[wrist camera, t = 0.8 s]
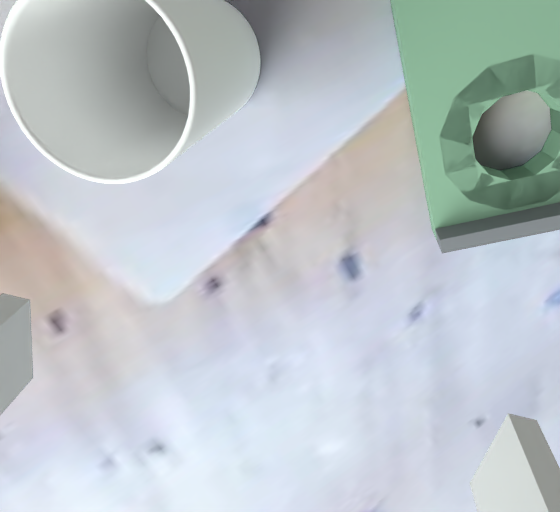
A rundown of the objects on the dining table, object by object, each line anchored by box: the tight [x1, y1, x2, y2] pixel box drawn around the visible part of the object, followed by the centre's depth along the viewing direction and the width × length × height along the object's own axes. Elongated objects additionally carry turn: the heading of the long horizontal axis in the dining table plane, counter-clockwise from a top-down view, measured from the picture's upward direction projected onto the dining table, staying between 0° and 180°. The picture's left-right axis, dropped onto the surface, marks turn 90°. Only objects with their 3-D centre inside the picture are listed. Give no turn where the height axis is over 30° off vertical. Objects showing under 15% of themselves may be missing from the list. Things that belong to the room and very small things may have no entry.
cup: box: [0, 0, 261, 184], centre depth 27 cm, size 8×8×16 cm
